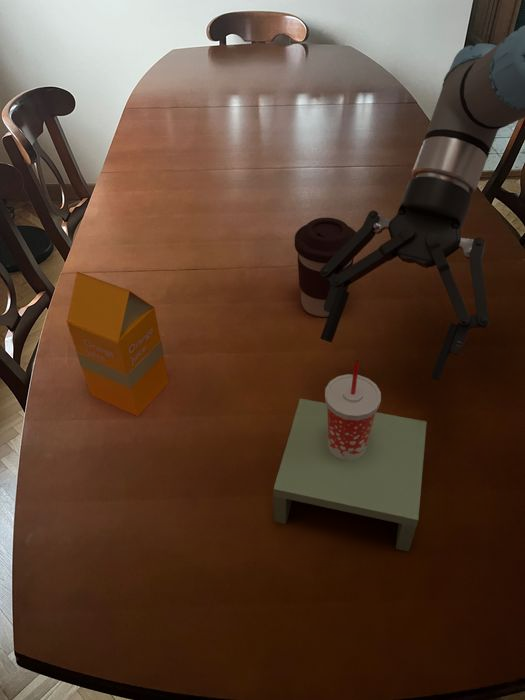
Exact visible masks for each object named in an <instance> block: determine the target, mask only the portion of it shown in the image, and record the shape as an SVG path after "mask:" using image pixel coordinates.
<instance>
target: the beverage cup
mask: <svg viewBox="0 0 525 700" xmlns="http://www.w3.org/2000/svg"><path fill="white" fill-rule="evenodd" d="M359 365H360V360H359V359H355V360H354V363H353V371H352V374H351V373H347V374H343V375H339V376H336V377H335V378H333V379H331V380H330V381H329V382H328V384H327V385H326V387H325V389H324V403H326V405H327V432H328V448H329V450H330V452H331V453H332V454H333V455H334V456H335V457H337V458H339V459H342V460H349V461H351V460H355V459H358V458H359V457H361V456H362V455H363V454H364V452H365V450H366V447H367V443H368V439H369V436H370V432H371V428H372V424H373V420H374V417H375V413H376V412H378V409H379V408H380V406H381V402H382V395H381V394H382V392H381V391H380V388H379V387H378V385H377V384H376V383H375V382H374V381H372V380H371V378H368V377H366V376H362V375H360V374H359V367H360V366H359Z"/></svg>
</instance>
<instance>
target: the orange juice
mask: <svg viewBox="0 0 525 700" xmlns="http://www.w3.org/2000/svg"><path fill="white" fill-rule="evenodd" d="M65 322H66V324H67V327H68V330H69V333H70V337H71V339H72V342H73V345H74V349H75V351H76V356H77V359H78V361H79V364H80V367H81V370H82V373H83V376H84V378H85V382H86V384H87V388H88V391H89V393H90V394H89V395H90V396H91V397H93V398H96V399H98V400H100V401H102V402H105V403H107V404H109V405H111V406H114V407H115V408H118V409H120V410H122V411H124V412H127V413H128V414H131V415H133V416H135V417H137V418H139V416H140V415H141V414H142V413H143V412H144V411H145V410H146V409H147V407H149V405H150V404H151V403H152V402H153V401H154V400H155V399H156V398H157V397H158V395H159V394H161V392H162V391H163V390H164V388H166V387H167V386H168V385H169V383H170V382H169V376H168V371H167V367H166V366H167V365H166V361H165V356H164V354H165V353H164V349H163V343H162V340H161V335H160V329H159V325H158V318H157V314H156V308H155V307H154V306H153V305H151V304H150V303H148V302H147V301H146V300H145V299H142V298H141V297H140V296H138V295H137V294H135V293H134V292H132V291H131V290H129V289H127V288H124V287H121V286H118V285H116V284H113V283H110V282H108V281H105V280H102V279H98V278H96V277H93V276H92V275H91V276H90V275H88V274H85V273H82V272H80V271H76V274H75V279H74V284H73V289H72V293H71V299H70V305H69V309H68V314H67V319H66V320H65Z"/></svg>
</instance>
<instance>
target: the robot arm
mask: <svg viewBox="0 0 525 700" xmlns="http://www.w3.org/2000/svg"><path fill="white" fill-rule="evenodd" d="M441 87H442V88H441V91H440V93H439V97H438V99H437V102H436V105H435V107H434V110H433V112H432V116H431V119H430V122H429V124H428V127H427V130H426V133H425V136H424V138H423V142H422V144H421V147H420V149H419V151H418V152H419V153H418V155H417V157H416V160H415V163H414V165H413V168H412V171H411V176H412V179H411V178H410V180H408V182H407V185H406V188H405V191H404V193H403V196H402V199H401V201H400V204H399V207H398V210H397V213H396V215H394V217H393V218H388V217H386V216H383V215H381V214H379V213H378V211H377V210H375V209H374V210H370V211H369V212H368V214H367V215H366V218H365V220H364V222H363V224H362V226H361V227H360V228H359V229H358V230H357V231H355V232H356V233H355V234H354V235H353V236H352V238H351V239H350V240H349V241H348V242H347V243H346V244H345V245H344V246H343V247H342V248H341V249H340V250H339V251H338V252H337V253H336V254H335V255H334V256H333V257H332V258H331V259H330V260H329V261H328V262H327V263H326V264H325V265H324V266H323V267H322V268H321V270H320V274H321V275H322V276H323V277H324V278H326V279H327V280H328V281H329V282H330V284H331V287H330V290H329V293H328V296H327V299H326V302H325V304H324V311H326V312H329V315H328V317H326V321H325V324H324V327H323V330H322V333H321V335H320V338H319V339H320V340H322V341H326V342H328V343H331V344H332V343H333V340H334V338H335V335H336V332H337V329H338V327H339V324H340V322H341V318H342V315H343V313H344V310H345V308H346V304H347V301H348V299H349V297H350V292H349V290H347V291H346V290H345V289H344V288H345V287H347V286H349V287H350V285H351V284H353V283H355V282H356V281H358V280H360V279H361V278H363V277H365V276H366V275H368V274H369V273H371V272H373V271H374V270H376V269H378V268H379V267H381V266H382V265H384V264H385V263H388V262H391V261H392V260H394V259H396V258H399V260H401V261H402V262H404V263H408V264H416V265H418V266H420V267H422V268H425V269H428V268H432V267H435V266H436V268H437V270H438V273H439V276H440V277H441V278H440V279H441V280H442V283H443V285H444V288H445V290H446V293H447V296H448V298H449V300H450V302H451V305H452V307H453V310H454V312H455V315H456V317H457V319H458V324H457V323H455V322H450V324H449V326H448V329H447V332H446V335H445V338H444V340H443V343H442V346H441V349H440V351H439V354H438V357H437V359H436V361H435V365H434V368H433V369H432V372H431V375H430V378H431V379H433V380H436V381H441V378H442V375H443V372H444V369H445V366H446V364H447V363H448V362H447V361H448V359H449V357H450V354H451V355H455V356H459V355H460V354H461V352H462V350H463V347H464V344H465V343H466V339H467V338H468V335H469V332H470V331H471V330H472V329H477V328H479V329H485V328H488V327H489V325H490V314H489V308H488V307H489V306H488V301H487V292H486V286H485V279H484V278H485V277H484V271H483V265H482V263H483V257H484V254H485V249H486V243H485V239H484V238H483V237H481V236H478V237H475V238H474V239H473V238H467V237H466V238H465V237H461V233H462V230H463V229H462V228H463V226H464V223H465V220H466V218H467V215H468V213H469V210H470V207H471V204H472V202H473V198H472V196H471V194H473V193H475V192H476V191H477V189H478V185H479V182H480V179H481V177H482V174H483V171H484V168H485V165H486V163H487V160H488V158H489V155H490V152H491V149H492V147H493V143H494V142H495V139H496V137H497V134H498V132H499V130H500V129H503V128H505V127H507V126H509V125H511V124H514V123H515V122H518V121H520V120H523V119H525V25H522V26H520V27H519V28H518V29H517V30H513V31H512V32H511V33H510V34H509V35H508V36H507V37H505V38H504V39H503V40H502V41H501V42H499V43H498V44H497V45H495V44H492V43H484V42H483V43H477V44H475V45H467V46H465V47H463V48H461V49H460V50H459V51H458V52H457V54H456V55H455V56H454V58H453V61H452V63H451V65H450V67H449V70H448V71H447V73H446V74H445V76H444V78H443V83H442V86H441ZM385 230H388V233H389V237H390V239H388V240H387V241H386V242H384V243H382V244H381V245H379V247H378V248H377V249H375V250H374V251H372V252H370V253H369V254H368V255H365V257H363V258H361V259H360V260H358V261H357V262H355V263H353V265H352V266H350V267H349V268H347V269H345V270H344V271H342V272H341V273H339V272H340V271H341V270H342V269H343V268H344V267H345V266H346V265H347V264H348V263H349V262H350V261H351V260H352V259H353V260H354V258H355V257H356V256H358V254H359V253H360V252H361V251H363V249H364V248H365V247H367V245H368V244H369V243H370V242H371V241H372V240H373V239H374V237H375V236H376V235H380V234H381V233H382V232H383V231H385ZM459 249H461V250H463V255H464V257H465V259H467V260H469V269H470V275H471V276H470V277H471V282H472V288H473V297H474V304H475V310H476V311H475V312H476V314H475V315H470V314H469V312H468V309H467V306H466V304H465V302H464V299H463V297H462V295H461V292H460V290H459V287H458V284H457V281H456V280H455V278H454V276H453V273H452V271H451V268H450V265H449V263H448V260H447V258H448V257H449V256H451V255H453V253H455V252H457V251H458V250H459ZM338 273H339V274H338ZM337 274H338V275H337Z"/></svg>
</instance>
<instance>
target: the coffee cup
mask: <svg viewBox="0 0 525 700" xmlns="http://www.w3.org/2000/svg"><path fill="white" fill-rule="evenodd" d="M356 232H357V231H356V230H355V229H353V228H352V227H351V226H349V225H348V224H347V223H345V222H344V221H343V220H341V219H339V218H335V217H318V218H315V219H312V220H311V221H309V222H308V223H306V224H304V225H303V226H301V227H300V228H298V230H297V231H296V232H295V235H294V249H295V251H296V252H297V271H298V272H297V273H298V285H299V289H300V301H301V306H302V308H303V310H305V312H307V313H308V314H310V315H312V316H315V317H321V318H328V315H329V312H326V311H324V304H325V302H326V299H327V296H328V293H329V290H330V287H331V284H330V282H329V281H328V280H327V279H326V278H324V277H323V276H322V275H321V274H320V270H321V268H322V267H323V266H324V265H325V264H326V263H327V262H328V261H329V260H330V259H331V258H332V257H333V256H334V255H335V254H336V253H337V252H338V251H339V250H340V249H341V248H342V247H343V246H344V245H345V244H346V243H347V242H348V241H349V240H350V239H351V238H352V236H353V235H354V234H355V233H356ZM353 264H354V258H353V259H352V260H351V261H350V262H349V263H348V264H347V265H346V266H345V267H344V268H343V269H342V270H341V271H340V272H339V273H341V272H342V271H344V270H345V269H347V268H349V267H350V266H352V265H353ZM339 273H338V274H339ZM338 274H337V275H338ZM349 287H350V285H349V286H347V287H345V288H344V289H345V290H346V291H349V290H348V289H349Z"/></svg>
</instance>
